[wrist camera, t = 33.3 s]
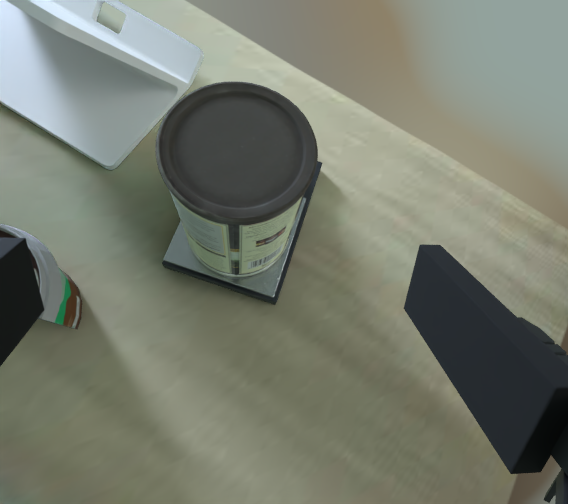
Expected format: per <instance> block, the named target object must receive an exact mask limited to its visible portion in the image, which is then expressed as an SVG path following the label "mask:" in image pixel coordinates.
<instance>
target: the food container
mask: <svg viewBox="0 0 568 504" xmlns="http://www.w3.org/2000/svg"><path fill="white" fill-rule="evenodd" d="M0 238H26V241H27V245H28V249H29V253H30V256H31V260H32V264H33V268H34V271H35V275H36V279H37V283H38V286H39V290H40V294H41V298H42V301H43V305H44V309H45V310H44V311H43V312H42V314H41V315H40V316H39V318H38V319H41V320H45V321H49V322H52V323H56V324H59V325H63V326H67V327H70V328H74V329H77V328H78V325H79V323H80V320H81V313H82V300H81V296H80V293H79V290H78V287H77V286H76V284H75V283H74V282H73V281H72V279H71V278H70V277H69V276H68V275H67V274H66V273H65V272H63V271H62V270H61V269H60V268H58V266H57V263H56V261H55V259H54V257H53V255H52V254H51V252H50V251H49V250H48V249H47V247H46V246H45V245H44V244H43V243H42V242H40V241H39V240H38V239H37V238H36V237H34V236H32V235H31V234H29V233H27V232H25V231H23V230H20V229H17V228H15V227H11V226H8V225H4V224H0Z"/></svg>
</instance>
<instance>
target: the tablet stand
mask: <svg viewBox="0 0 568 504" xmlns="http://www.w3.org/2000/svg"><path fill="white" fill-rule="evenodd" d="M104 2H106V3H108V4H110V5H111V6H113V7H115V8H116V9H118V10H120V11H122V12H123V13H125V14H126V18H125V21H124V24H123V26H122V29H121V32H120V33H119V34H117V33H115V32H114V31H112V30H110V29H108V28H107V27H105V26H103V25H102V24H100V23H98V22H97V17H98V14H99V11H100V9H101V6H102V4H103V3H104ZM203 59H204V53H203V51H202V50H201V49H200V48H199V47H197V46H195V45H194V44H192V43H190V42H189V41H187V40H185V39H183V38H182V37H180V36H178V35H177V34H175V33H173V32H171V31H170V30H168V29H166V28H164V27H163V26H161V25H159V24H158V23H156V22H154V21H152V20H151V19H149V18H147V17H146V16H144V15H142V14H140V13H139V12H137V11H135V10H133V9H132V8H130V7H128V6H127V5H125V4H123V3H121V2H120V1H118V0H0V103H1V104H2V105H4V106H6V107H7V108H9V109H11V110H12V111H14V112H15V113H17V114H19V115H20V116H22V117H24V118H25V119H27V120H28V121H30V122H32V123H33V124H35V125H36V126H38V127H40V128H41V129H43V130H45V131H46V132H48V133H49V134H51V135H53V136H54V137H56V138H58V139H59V140H61V141H62V142H64V143H66V144H67V145H69V146H70V147H72V148H74V149H75V150H77V151H79V152H80V153H82V154H83V155H85V156H87V157H88V158H90V159H92V160H93V161H95V162H96V163H98V164H100V165H101V166H103V167H104V168H106V169H108V170H113V169H115V168H117V167H118V166H119V165H120V164H121V162H122V161H123V160H124V159H125V158H126V157H127V156H128V155H129V154H130V153H131V151H132V150H133V149H134V148H135V147H136V146H137V145H138V144H139V143H140V141H141V140H142V139H143V138H144V137H145V136H146V135H147V134H148V133H149V132H150V130H151V129H152V128H153V127H154V126H155V125H156V124H157V123H158V122H159V120H160V119H161V118H162V117H163V116H164V115H165V114H166V113H167V112H168V111H169V109H170V108H171V107H172V106H173V105H174V104H175V103H176V102H177V101H178V100H179V98H180V97H181V96H182V95H183V94H184V93H185V92H186V91H187V90H188V88H189V87H190V86H191V85H192V83H193V81H194V78H195V76H196V74H197V72H198V70H199V67H200V65H201V63H202V61H203Z"/></svg>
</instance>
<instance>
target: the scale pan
mask: <svg viewBox="0 0 568 504" xmlns="http://www.w3.org/2000/svg"><path fill="white" fill-rule="evenodd" d="M305 201H306V198H304V197H303V200H302V203H301V206H300V208H299V212H298V213H297V216H296V219H295V222H294V225H293V228H292V230H291V233H290V236H289V240H288V244H287V246H286V249H285V251H284V253H283V254H282V255H281V257H280V258H279V259H278V260H277V261H276V262H275V263H274V264H273V265H272V266H270V267H269V268H268V269H266V270H264V271H262V272H260V273H258V274H255V275H252V276H246V277H231V276H226V275H222V274H219V273H217V272H215V271H212V270H210V269H209V268H208V267H206V266H205V265H204V264H202V263H201V262H200V261H199V260H198V259H197V257H196V256H195V255H194V253H193V252H192V250H191V248H190V246H189V243H188V240H187V236H186V233H185V230H184V227H183V225H182V222H181V221H180V223H179V225H178V227H177V230H176V232H175V234H174V236H173V238H172V241H171V243H170V245H169V247H168V250H167V252H166V254H165V256H164V258H163V260H164V261H167V262H170V263H173V264H175V265H178V266H181V267H184V268H187V269H190V270H193V271H196V272H199V273H202V274H205V275H208V276H211V277H214V278H217V279H220V280H223V281H226V282H228V283H231V284H234V285H237V286H240V287H243V288H246V289H249V290H252V291H255V292H258V293H261V294H264V295H267V296H270V297H274V294H275V291H276V288H277V285H278V282H279V279H280V276H281V273H282V270H283V267H284V264H285V261H286V258H287V255H288V252H289V249H290V246H291V243H292V240H293V237H294V234H295V231H296V228H297V225H298V222H299V219H300V216H301V213H302V210H303V207H304V204H305Z"/></svg>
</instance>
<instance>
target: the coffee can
mask: <svg viewBox="0 0 568 504" xmlns="http://www.w3.org/2000/svg"><path fill="white" fill-rule="evenodd" d="M317 158H318V150H317V143H316V139H315V135H314V133H313V130H312V128H311V126H310V124H309V122H308V120H307V119H306V117H305V116H304V114H303V113H302V112H301V111H300V110H299V108H298V107H297V106H296V105H294V104H293V103H292V102H291V101H290V100H288V99H287V98H285V97H284V96H282V95H281V94H279V93H277V92H276V91H273V90H271V89H269V88H266V87H264V86H260V85H257V84H253V83H246V82H221V83H215V84H211V85H207V86H204V87H201V88H199V89H197V90H195V91H192V92H191V93H189V94H187V95H186V96H184V97H183V98H182V99H181V100H179V101H178V102H177V103H176V104H175V105H174V106H173V107H172V108H171V109H170V110H169V112H168V113H167V114H166V116H165V117H164V119H163V121H162V123H161V125H160V128H159V131H158V134H157V139H156V159H157V164H158V168H159V171H160V173H161V176H162V178H163V180H164V182H165V184H166V185H167V187H168V189H169V191H170V193H171V196H172V199H173V201H174V204H175V206H176V209H177V212H178V214H179V217H180V220H181V222H182V225H183V227H184V230H185V233H186V236H187V240H188V243H189V246H190V248H191V250H192V252H193V253H194V255H195V256H196V257H197V259H198V260H199V261H200V262H201V263H202V264H204V265H205V266H206V267H208V268H209V269H210V270H212V271H215V272H217V273H219V274H222V275H226V276H231V277H246V276H252V275H255V274H258V273H260V272H262V271H264V270H266V269H268V268H269V267H270V266H272V265H273V264H274V263H275V262H276V261H277V260H278V259H279V258H280V257H281V255H282V254H283V253H284V251H285V249H286V246H287V244H288V240H289V236H290V233H291V230H292V228H293V225H294V222H295V219H296V216H297V213H298V212H299V208H300V206H301V203H302V200H303V197H304V194H305V192H306V190H307V188H308V187H309V185H310V183H311V181H312V178H313V176H314V173H315V170H316V165H317Z"/></svg>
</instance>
